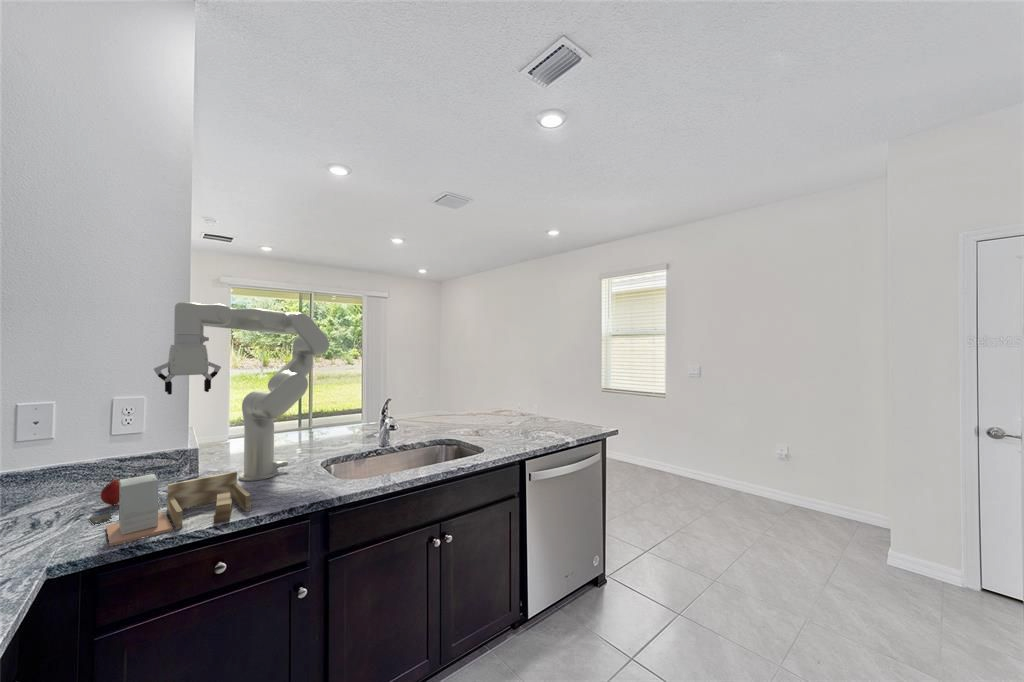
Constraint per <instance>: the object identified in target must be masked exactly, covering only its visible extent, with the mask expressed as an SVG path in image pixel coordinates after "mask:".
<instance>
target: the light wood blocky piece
mask: <svg viewBox="0 0 1024 682" xmlns="http://www.w3.org/2000/svg"><path fill="white" fill-rule="evenodd" d="M166 489H167V491H166V492H167V493H166V494H167V495H166V498H167V499H166V503H167V504H166V505H167V506H166V512H167V514H168V516H169V515H170V516H169V517H171V518H170V520H171V521H172V523H173V526H174V527H175V528H176V530H178V529H181V528H183V515H184V514H183V510H185V509H184V508H186V509H189V508H188V507H191V508H193V507H192V506H195V507H199V506H205V505H209V504H212V503H217V494H222V493H228V492H230V499H232V500H234V501H235V502H236V504H237V505H239V507H241V508H242V509H243V510H244V511H245V512H248V511H251V506H252V505H251V501H252V500H251V496H252V495H251V494H250V493H249V492H248V491H247V490H245V488H243V487H242V486H241V485H240V484H238V472H237V471H230V472H226V473H221V474H215V475H211V476H205V477H200V478H198V477H197V478H195V479H188V480H184V481H179V482H174V483H168V484H167V488H166ZM198 505H199V506H198Z"/></svg>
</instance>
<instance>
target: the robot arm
mask: <svg viewBox="0 0 1024 682" xmlns="http://www.w3.org/2000/svg"><path fill="white" fill-rule="evenodd" d="M173 321H174V329H173V331H174V333H173V334H174V335H173V337H174V338H173V339H174V340H173V342H174V343H173V344H170V347H169V353H168V361H167V362H166V363H164V364H161V365H158V366H156V367H154V368H153V371H154V372H155V374H156V375H157V377H158V378H159V379H161V380H162V381H164V392H165V393H166V394H167V395H173V394H172V393H173V382H172V380H173V378H174V377H176V376H179V377H180V376H201V375H202V376H203V377H204V378H205V379H204V384H203V385H204V387H203V391H204V392H206V393H210V390H211V389H212V380H213V379H214V378H215V377H216V376H217V375H218V373H219V372H220V370H221V368H222V366H221V365H218V364H215V363H214V362H210V361H209V356H208V355H209V354H208V349H207V344H204V343H205V342H209V341H210V339H209V337H208V336H205V335H204V330H205V329H204V327H210V328H222V329H231V330H233V329H234V330H240V331H241V330H243V331H248V332H249V331H250V332H258V333H259V332H261V333H271V334H281V335H298V336H296V337H295V339H294V340H293V343H292V351H293V353H292V358H291V359H290V360H289V362H288V363H286V365H284V366H283V367H282V368H281V369H279V371H277V372H276V373H275V374H274V375H273V376H272V377H271V378H270V379H269V380H268V383H267V389H268V391H266V390H265V391H264V390H254V391H251V392H249V393H247V394H246V396H245V397H244V398H243V399H242V403H241V411H242V418H243V424H244V427H243V428H244V429H243V430H244V435H243V441H244V442H243V443H244V444H243V471H242V472H241V473H239V474H238V480H240V481H246V482H247V481H248V482H251V481H252V482H253V481H261V480H267V479H270V478H272V477H275V476H277V475H278V474H279V469H280V468H285V467H288V466H289V464H288V463H289V462H288V461H287V460H286V461H282V460H281V461H275V460H274V459H275V458H274V457H275V455H274V454H275V450H274V449H275V424H274V423H275V422H274V419H278V418H280V417H282V416H283V415H284V414H286V413H287V411H289V410H290V409H291V408H292V407H293V406H294V405H295V404H296V403H297V402H298V401H299V400H300V399H301V398H302V397H303V396H304V395H305V394H306V392H307V390H308V387H309V381H308V379H307V376H308V375H309V374H310V372H311V371H312V369H313V362H314V361H313V359H314V358H313V357H314V356H323V355H324V354H326V353H327V352H328V351H329V348H330V341H329V338H328V337H327V335H326V334H325V333H324V332H323V331H322V329H321V328H320V327H319V326H318V325H317V323H316V322H315V321H314V320H313V318H311V317H310V316H309V315H308V314H306V313H303V312H285V311H278V310H272V309H263V308H233V307H232V308H231V307H230V306H228V305H225V304H222V303H212V304H211V303H207V304H204V303H202V304H201V303H198V302H188V301H187V302H185V301H184V302H177V303H176V304H175V305H174V320H173ZM209 367H210V368H213V370H212V372H211V373H209ZM165 369H167V373H168V374H167V375H164V374H163V373H162V370H165Z"/></svg>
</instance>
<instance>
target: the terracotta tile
mask: <svg viewBox="0 0 1024 682" xmlns="http://www.w3.org/2000/svg"><path fill="white" fill-rule="evenodd" d="M106 529H107V530H106ZM173 529H174V527H173V525H172V523H171V522H170V520H169V517H168V516H167V514H166V513H165V512H160V513H158V526H156V527H152V528H148V529H144V530H140V531H136V532H132V533H128V534H125V535H122V534H121V530H120V527H119V522H116V523H112V524H107V525H106V527H105V530H106V535H107V534H108V536H107V540H109V542H108V546H109V548H110V546H111V547H114V546H113V545H115V546H118V544H119V545H122V543H123V544H125V543H124V542H127V543H129V542H133V541H132V540H134V541H137V539H138V540H141V539H140V538H142V537H146V538H148V537H147V536H150V537H152V536H151V535H154V536H157V535H156V534H158V535H161V534H160V533H162V534H165V532H166V533H169V532H172V531H173ZM142 539H143V538H142Z"/></svg>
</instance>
